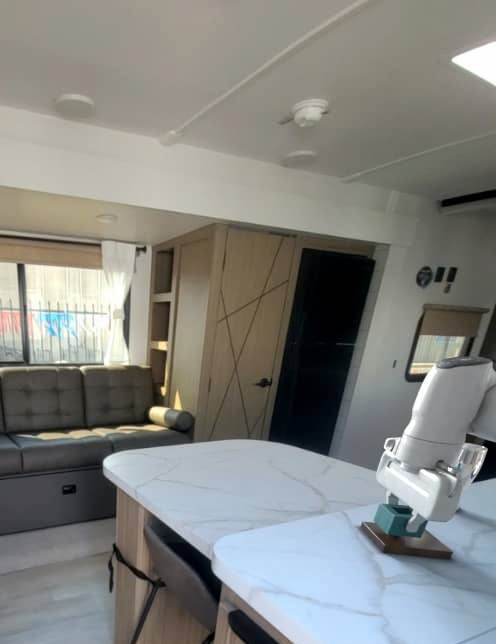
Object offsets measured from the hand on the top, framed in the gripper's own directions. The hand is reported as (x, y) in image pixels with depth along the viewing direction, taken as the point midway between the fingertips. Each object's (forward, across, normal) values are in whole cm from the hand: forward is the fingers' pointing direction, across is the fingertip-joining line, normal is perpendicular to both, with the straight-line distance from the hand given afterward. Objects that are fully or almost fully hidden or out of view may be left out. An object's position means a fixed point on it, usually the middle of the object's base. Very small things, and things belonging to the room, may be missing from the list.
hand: (399, 521), depth 79 cm
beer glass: (+4, +22, -22) cm, 31 cm away
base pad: (+4, 0, -2) cm, 5 cm away
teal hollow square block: (+2, 0, 0) cm, 2 cm away
